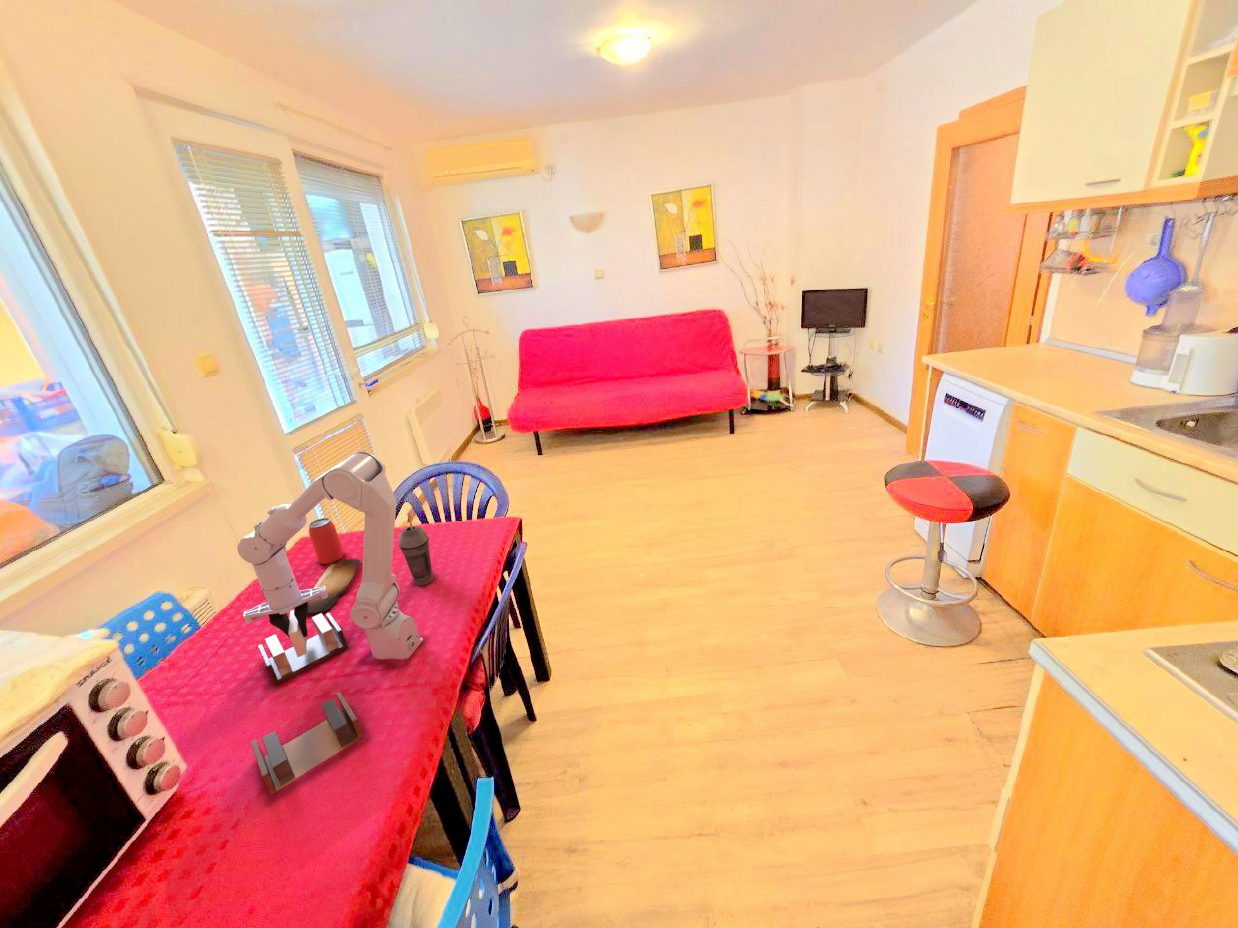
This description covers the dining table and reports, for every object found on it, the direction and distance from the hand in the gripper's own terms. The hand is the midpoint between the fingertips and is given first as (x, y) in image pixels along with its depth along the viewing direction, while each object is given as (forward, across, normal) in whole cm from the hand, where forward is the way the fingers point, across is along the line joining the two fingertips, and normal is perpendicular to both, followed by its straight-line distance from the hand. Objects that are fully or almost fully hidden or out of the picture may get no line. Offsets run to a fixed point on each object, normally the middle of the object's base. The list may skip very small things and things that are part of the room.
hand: (299, 636), depth 107 cm
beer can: (+6, +6, +43) cm, 44 cm away
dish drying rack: (+5, 0, 0) cm, 5 cm away
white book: (+2, 0, 0) cm, 2 cm away
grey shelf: (+5, +1, -28) cm, 29 cm away
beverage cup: (+6, +27, +15) cm, 31 cm away
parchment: (+5, +6, +27) cm, 28 cm away
